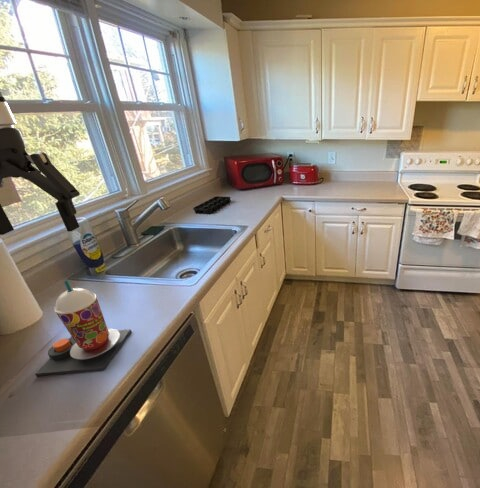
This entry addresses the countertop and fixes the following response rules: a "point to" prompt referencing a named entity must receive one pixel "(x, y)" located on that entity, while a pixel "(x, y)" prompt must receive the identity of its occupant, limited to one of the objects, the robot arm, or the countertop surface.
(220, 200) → the egg carton
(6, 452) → the countertop surface
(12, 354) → the countertop surface
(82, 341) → the smoothie
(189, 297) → the countertop surface
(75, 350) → the platter
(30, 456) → the countertop surface
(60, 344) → the tare button
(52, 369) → the scale
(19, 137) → the robot arm
